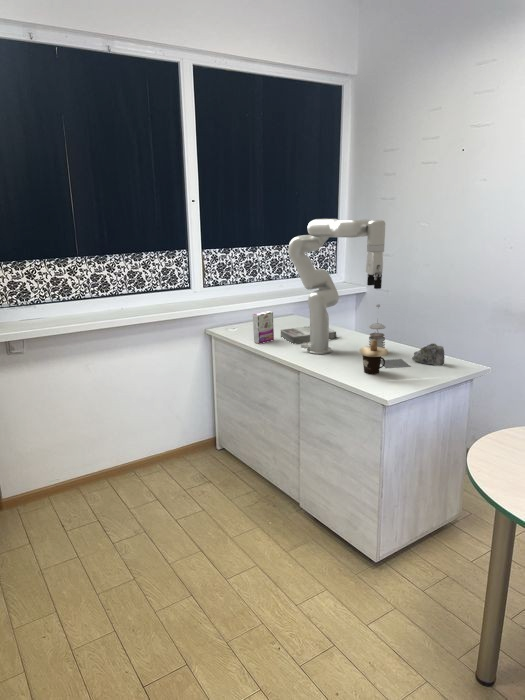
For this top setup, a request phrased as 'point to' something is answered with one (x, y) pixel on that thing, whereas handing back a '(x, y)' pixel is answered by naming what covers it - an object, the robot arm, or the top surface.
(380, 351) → the lid
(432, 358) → the mineral rock
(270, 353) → the top surface
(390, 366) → the mat
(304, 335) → the flat grey box
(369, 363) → the coffee mug
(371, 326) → the french press
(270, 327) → the candy bar box
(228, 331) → the top surface
